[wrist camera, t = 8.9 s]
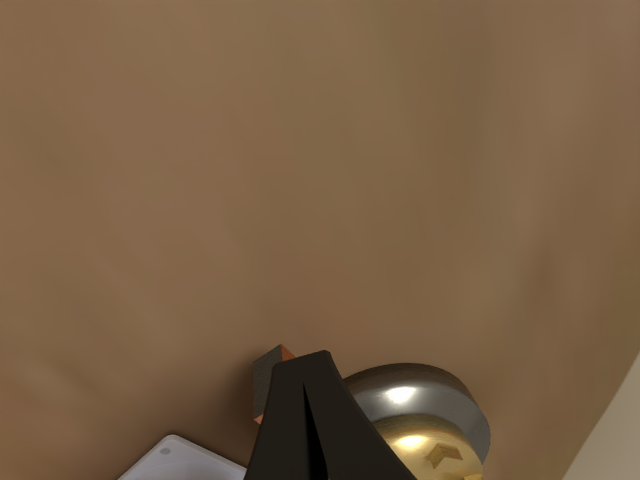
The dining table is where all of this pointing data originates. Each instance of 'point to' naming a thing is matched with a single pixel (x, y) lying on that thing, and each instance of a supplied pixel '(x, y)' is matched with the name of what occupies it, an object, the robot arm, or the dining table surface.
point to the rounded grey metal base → (420, 398)
